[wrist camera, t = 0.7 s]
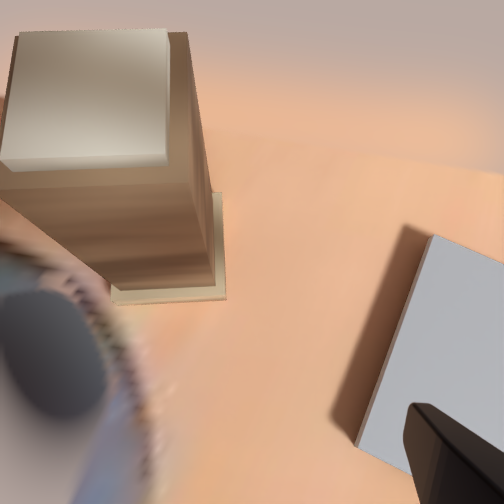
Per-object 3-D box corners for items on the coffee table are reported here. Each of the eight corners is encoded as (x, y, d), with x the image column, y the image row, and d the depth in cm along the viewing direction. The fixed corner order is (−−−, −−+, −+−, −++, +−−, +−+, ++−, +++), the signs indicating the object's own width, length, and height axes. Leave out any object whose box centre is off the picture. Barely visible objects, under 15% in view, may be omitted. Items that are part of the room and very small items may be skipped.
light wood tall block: (226, 300, 22) (206, 188, 10) (118, 305, 22) (-50, 198, 9) (222, 202, 24) (201, 0, 12) (122, 207, 24) (-13, 5, 11)
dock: (543, 542, 19) (568, 555, 18) (349, 443, 20) (357, 448, 19) (590, 316, 23) (614, 312, 21) (422, 243, 24) (434, 234, 22)
